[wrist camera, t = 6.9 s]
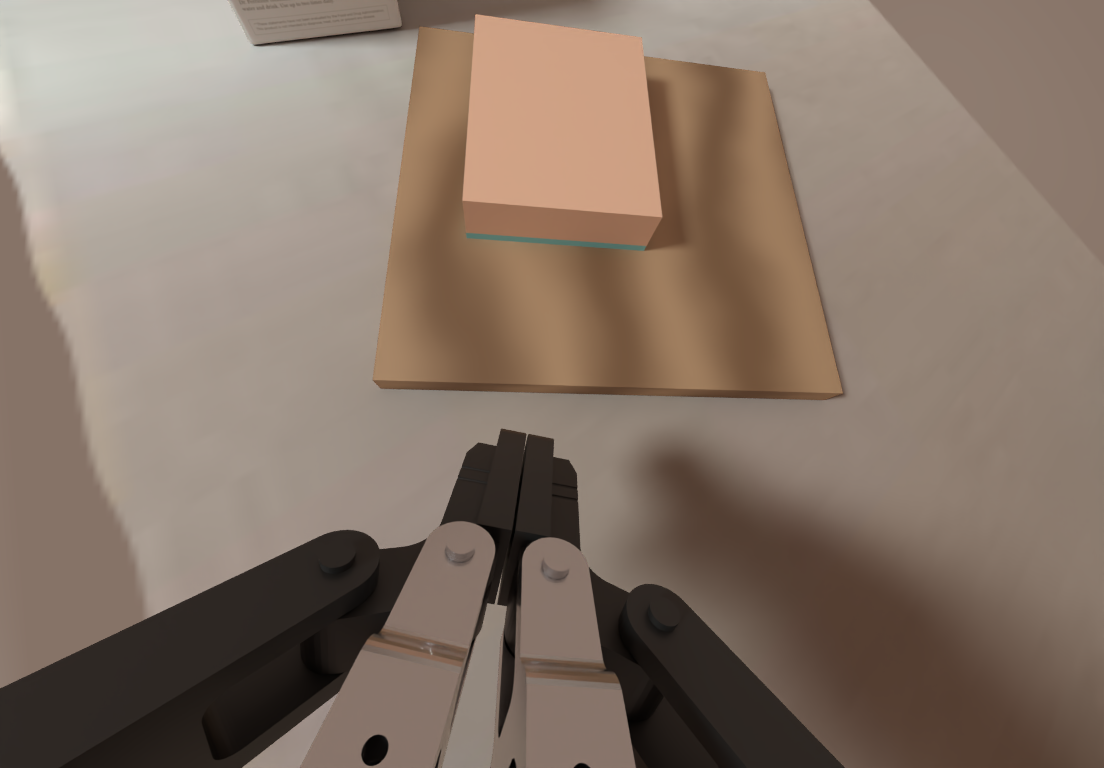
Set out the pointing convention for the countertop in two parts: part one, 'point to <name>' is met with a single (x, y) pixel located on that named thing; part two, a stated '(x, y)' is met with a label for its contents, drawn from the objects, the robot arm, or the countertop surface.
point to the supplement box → (312, 18)
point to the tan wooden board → (609, 260)
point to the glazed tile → (559, 138)
